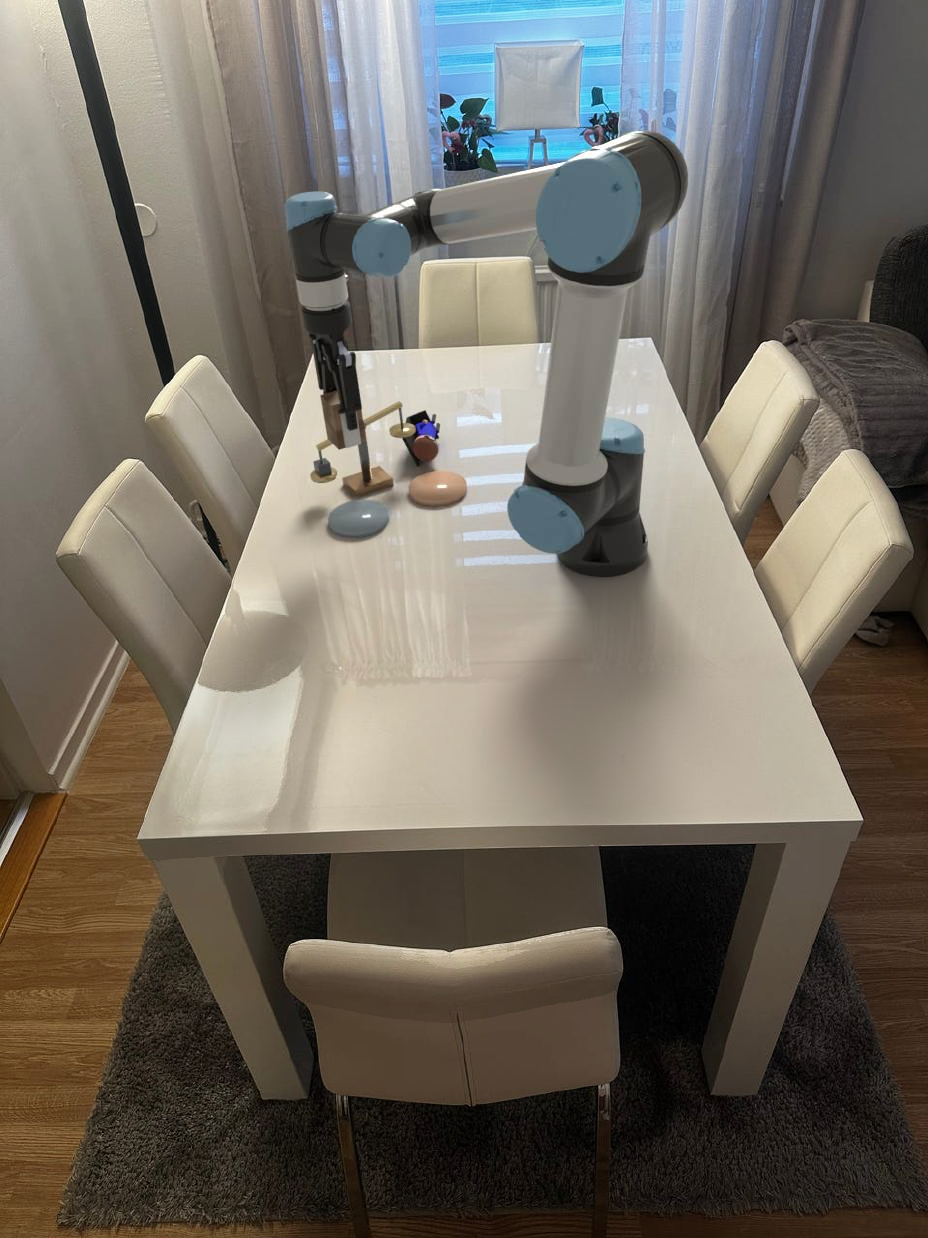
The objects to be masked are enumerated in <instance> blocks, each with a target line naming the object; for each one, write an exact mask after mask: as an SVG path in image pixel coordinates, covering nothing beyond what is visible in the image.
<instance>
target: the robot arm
mask: <svg viewBox="0 0 928 1238" xmlns="http://www.w3.org/2000/svg"><path fill="white" fill-rule="evenodd" d="M688 171H689V170H688V166H687V163H686V160H685V158H684V155H683V152H682V151H681V150H680V148H679V147H678V146H677V145H676V143H675V142H674V141H672V140H671V139H670V138H669V137H668V136H665V135H664V134H662V133H660V132H656V131H653V130H652V131H651V130H637V131H636V130H635V131H632V132H627V133H626V134H623V135H621V136H619V137H617V138H614V139H612V140H610V141H608V142H606V143H603V144H599V145H595V146H593V147H591V148H587V149H585V150H583V151H579V152H577V153H575V154H573V156H571V157H570V158H568V159H567V160H566V161H564V162H560V163H555V164H551V165H546V166H542V167H537V168H532V169H526V170H522V171H517V172H514V173H509V174H506V175H505V174H504V175H499V176H496V177H492V178H491V177H490V178H486V179H482V180H478V181H472V182H468V183H465V184H460V185H455V186H450V187H445V188H429V189H425V190H421V191H419V192H416V193H414V194H413V195H411V196H408V197H406V198H405V199H402V200H400V201H397V202H395V203H391V204H389V205H388V204H387V205H386V206H383V207H381V208H378V209H376V210H374V211H371V212H368V213H366V214H350V213H349V214H348V213H344V212H339V211H338V206H337V204H336V199H335V196H334V195H333V194H332V193H329V192H326V191H306V192H301V193H296V194H294V195H291V196H290V197H289V198H288V199H286V201H285V203H284V213H285V221H286V232H287V235H288V240H289V245H290V250H291V256H292V261H293V262H292V263H293V267H294V272H295V274H294V275H295V282H296V288H297V289H296V290H297V294H298V299H299V303H300V304H301V305H302V307H301V315H302V319H303V320H302V321H303V326H304V329H305V330H306V332H308V337H309V340H310V344H311V347H312V354H313V361H314V367H315V372H316V373H315V374H316V379H317V384H318V385H317V386H318V389H319V390H320V391H323V392H322V395H323V394H326V393H330V392H333V391H337V393H338V397H339V401H340V405H341V410H337V411H338V413H339V415H340V418H341V424H342V431H343V437H344V443H345V447H346V448H345V449H350V448H352V447H356V446H358V445H359V444H361V438H360V431H359V424H358V417H357V411H358V410H362V408H363V406H362V399H361V391H360V386H359V385H360V384H359V378H358V371H357V356H356V352H355V351H350V352H349V351H348V350H349V346H348V345H349V344H348V341H347V339H346V338H345V335H344V334H345V332H346V331H347V330H348V329H350V328H351V327H352V325H353V318H352V311H351V304H350V302H349V301H348V298H349V292H348V285H347V282H348V281H349V276H348V275H347V274H346V271H350V272H351V271H352V272H356V273H360V274H361V273H362V274H366V275H369V276H372V277H373V276H374V277H395V276H397V275H399V274H401V273H402V272H403V271H404V268H405V266H407V265H408V264H409V260H410V257H411V256H412V255H415V254H416V253H419V252H421V251H424V250H428V249H430V248H437V247H442V246H447V245H450V244H457V243H463V242H467V241H468V242H469V241H474V240H481V239H487V238H492V237H498V236H499V237H500V236H505V235H512V234H518V233H523V232H529V231H536V232H537V236H538V239H539V241H540V242H542V243H543V245H544V248H543V249H544V252H545V254H546V255H547V258H548V259H547V269H548V272H550V274H551V275H552V276H553V277H554V279H555V280H557V290H556V297H555V305H554V315H553V322H552V330H551V339H550V348H549V355H548V364H547V372H546V380H545V388H544V396H543V402H542V403H543V406H542V413H541V422H540V427H539V428H540V430H539V437H538V443H535V445H533V446H532V447H531V448H529V450H528V452H527V454H526V457H525V465H524V473H523V474H524V476H523V480H522V484H521V486H520V485H519V486H518V487H517V488H515V489H514V490H513V493H511V495H510V497H509V499H508V502H507V506H506V507H507V508H506V509H507V516H508V519H509V521H510V524H511V526H512V527H513V529H514V531H515V532H517V533H518V535H519V537H520V538H521V539H522V540H523V541H524V542H525V543H526V544H527V545H529V546H530V547H532V548H534V549H536V550H538V551H540V552H542V553H547V554H552V555H554V554H556V556H557V558H558V560H559V561H560V562H561V563H562V564H563V565H564V566H565V567H567V568H569V569H570V570H572V571H574V572H576V573H579V574H583V575H587V576H592V577H593V576H595V577H613V576H614V577H615V576H620V575H624V574H626V573H629V572H631V571H634V570H635V569H637V568H638V567H639V566H641V565H643V563H644V562H645V560H646V559H647V555H648V547H649V546H648V545H649V540H648V539H649V538H648V535H647V533H646V530H645V526H644V522H643V520H642V517H641V513H640V507H641V506H640V504H641V496H642V495H641V493H642V480H643V469H644V455H645V453H646V449H645V435H644V432H643V431H642V430H641V429H640V428H639V426H637V425H636V424H635V423H632V422H630V421H627V420H624V419H622V418H621V419H620V418H615V417H610V416H609V417H607V416H606V414H607V409H608V404H609V397H610V392H611V386H612V381H613V376H614V375H613V374H614V369H615V363H616V357H617V352H618V351H617V350H618V347H619V341H620V335H621V329H622V322H623V319H624V318H623V317H624V313H625V307H626V300H627V297H628V290H629V289H630V288H631V287H633V286H634V285H636V284H637V283H638V282H640V281H641V280H642V278H643V276H644V272H645V266H646V262H647V261H646V259H647V257H648V256H647V255H648V249H649V245H650V244H649V243H650V239H651V236H653V235H654V234H656V233H658V232H659V231H661V230H662V229H663V228H665V227H666V226H668V225H669V223H671V222H672V221H673V220H674V219H675V217H676V215H677V214H678V213H679V212H680V210H681V209H682V206H683V204H684V202H685V199H686V196H687V193H688V187H689V172H688Z"/></svg>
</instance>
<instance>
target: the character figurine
mask: <svg viewBox="0 0 928 1238" xmlns="http://www.w3.org/2000/svg"><path fill="white" fill-rule="evenodd" d="M431 416H432V417H431V418H430V416H429V414H428V412H427V410H426V409H425V410H421V411H419V412H417V413H414V414H412V415H410V416H406V419H405V423H409V424H412V425H414V426H415V429H416V432H415V433H414V434H413V435H412V436H409V437H405V438H401V439H402V440H403V443H404V445H405V447H406V448H407V451H408V453H409V454H410V456H411V458H412V460H413V462H414V464H415V465H416V468H419V467H420V466H421V461H422V462H430V461H433V460H434V459H436V458H437V456H438V454H439V450H440V449H439V444H438V441H437V440H438V439H440V436H439V435H438V434H440V428H441V423H439V422H437V423H436V419H437V414H435V413H433V414H432V415H431ZM435 423H436V425H435Z"/></svg>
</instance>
